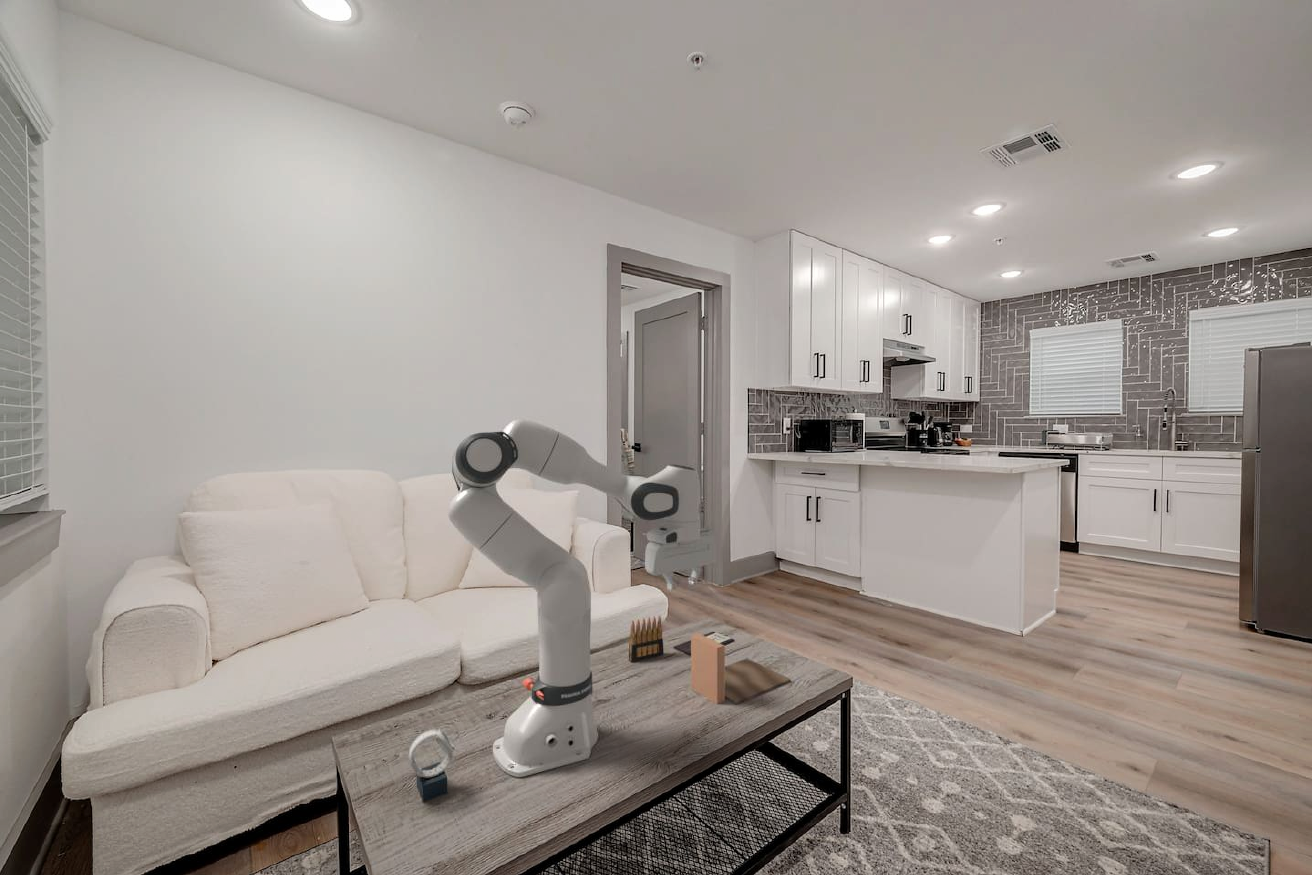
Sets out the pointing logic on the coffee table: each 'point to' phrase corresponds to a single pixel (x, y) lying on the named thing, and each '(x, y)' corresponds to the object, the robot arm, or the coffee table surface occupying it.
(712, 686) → the terracotta tile
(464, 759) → the coffee table surface
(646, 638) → the ammunition clip
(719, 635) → the chocolate bar
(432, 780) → the watch
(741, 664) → the walnut board
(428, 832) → the coffee table surface
